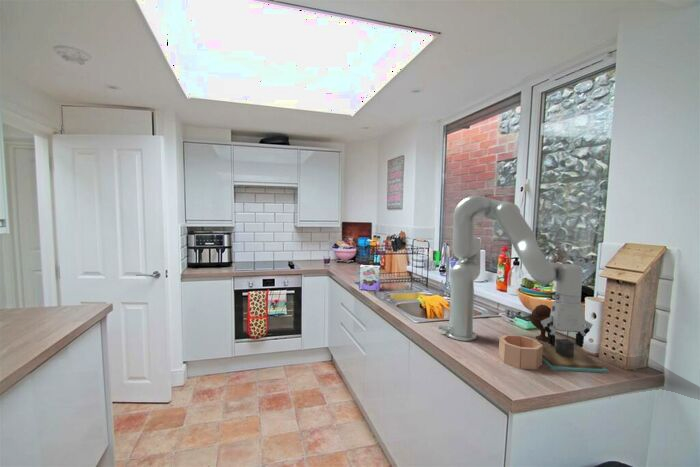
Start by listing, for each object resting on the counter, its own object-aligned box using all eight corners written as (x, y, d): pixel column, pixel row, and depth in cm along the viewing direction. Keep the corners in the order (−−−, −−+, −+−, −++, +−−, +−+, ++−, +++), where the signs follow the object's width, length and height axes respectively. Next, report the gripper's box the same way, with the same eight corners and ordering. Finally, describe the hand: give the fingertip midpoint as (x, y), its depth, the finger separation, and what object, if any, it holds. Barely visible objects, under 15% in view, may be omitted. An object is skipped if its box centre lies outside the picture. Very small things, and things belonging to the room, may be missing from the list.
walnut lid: (553, 366, 110) (554, 349, 110) (530, 347, 126) (531, 332, 126) (602, 368, 109) (603, 351, 109) (573, 349, 125) (574, 333, 125)
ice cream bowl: (562, 345, 130) (565, 309, 129) (532, 342, 133) (534, 306, 132) (552, 336, 141) (554, 302, 140) (524, 333, 143) (526, 300, 142)
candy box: (358, 290, 218) (359, 265, 217) (359, 288, 224) (360, 264, 223) (379, 291, 216) (379, 266, 215) (379, 289, 222) (380, 265, 221)
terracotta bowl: (508, 368, 110) (509, 347, 110) (494, 352, 123) (495, 334, 123) (547, 370, 109) (548, 349, 109) (529, 353, 122) (530, 335, 122)
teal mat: (551, 369, 110) (552, 367, 110) (526, 347, 128) (527, 345, 127) (608, 372, 108) (608, 370, 108) (574, 350, 126) (574, 348, 126)
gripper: (548, 300, 113) (545, 348, 114) (600, 302, 112) (597, 350, 113) (537, 295, 121) (535, 339, 122) (586, 296, 120) (583, 342, 121)
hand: (565, 345), depth 118 cm, fingers open, 9 cm apart
